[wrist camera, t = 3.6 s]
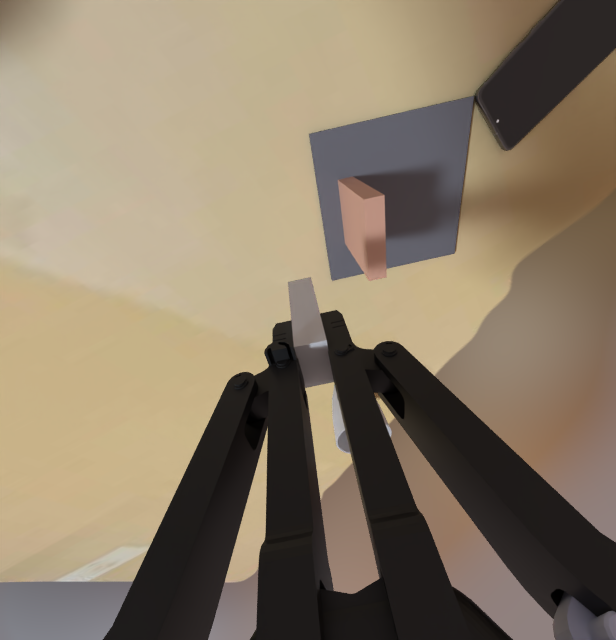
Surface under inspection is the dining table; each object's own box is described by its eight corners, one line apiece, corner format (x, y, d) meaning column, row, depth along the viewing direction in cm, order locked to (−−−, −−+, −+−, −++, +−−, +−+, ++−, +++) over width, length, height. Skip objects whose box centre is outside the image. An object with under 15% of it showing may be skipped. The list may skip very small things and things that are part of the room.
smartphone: (677, -10, 24) (507, 154, 29) (663, -5, 25) (500, 153, 30) (662, -112, 20) (474, 94, 26) (646, -102, 21) (467, 96, 27)
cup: (380, 382, 49) (402, 433, 40) (347, 407, 51) (361, 459, 43) (349, 361, 45) (366, 413, 37) (315, 389, 48) (324, 443, 40)
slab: (337, 179, 29) (363, 199, 21) (352, 176, 29) (384, 194, 21) (345, 243, 33) (369, 281, 25) (358, 240, 33) (386, 277, 25)
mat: (309, 133, 27) (309, 134, 27) (471, 96, 27) (474, 95, 26) (331, 279, 36) (332, 280, 36) (452, 252, 36) (454, 253, 36)
